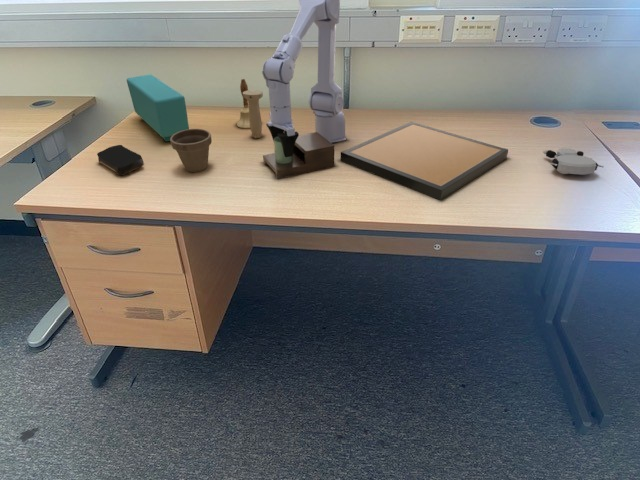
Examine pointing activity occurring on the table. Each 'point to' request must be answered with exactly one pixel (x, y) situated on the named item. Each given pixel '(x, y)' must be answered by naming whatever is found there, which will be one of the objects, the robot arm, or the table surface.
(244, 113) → the hand bell
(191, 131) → the flower pot
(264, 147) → the table surface
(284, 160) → the pencil cup
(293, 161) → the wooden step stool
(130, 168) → the black sponge
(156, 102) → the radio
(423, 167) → the cork board
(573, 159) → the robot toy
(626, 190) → the table surface
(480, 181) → the table surface
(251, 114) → the handle
